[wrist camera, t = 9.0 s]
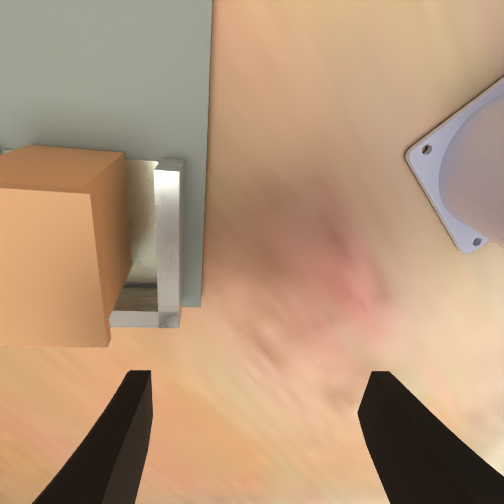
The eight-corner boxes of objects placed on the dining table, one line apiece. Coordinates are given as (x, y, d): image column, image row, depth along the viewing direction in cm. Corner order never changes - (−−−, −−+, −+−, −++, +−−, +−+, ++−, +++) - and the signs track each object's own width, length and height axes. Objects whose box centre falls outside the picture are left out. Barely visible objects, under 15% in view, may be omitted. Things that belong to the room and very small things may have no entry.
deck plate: (-90, -80, 12) (-119, -93, 11) (214, -34, 14) (213, -43, 13) (8, 289, 20) (-4, 301, 19) (201, 295, 21) (200, 307, 20)
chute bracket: (-26, 141, 15) (-68, 153, 13) (184, 158, 16) (179, 171, 14) (13, 294, 19) (-14, 324, 16) (183, 299, 20) (178, 328, 17)
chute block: (19, 143, 15) (-91, 181, 10) (133, 153, 16) (89, 194, 10) (42, 263, 18) (-33, 345, 12) (139, 267, 18) (107, 347, 13)
